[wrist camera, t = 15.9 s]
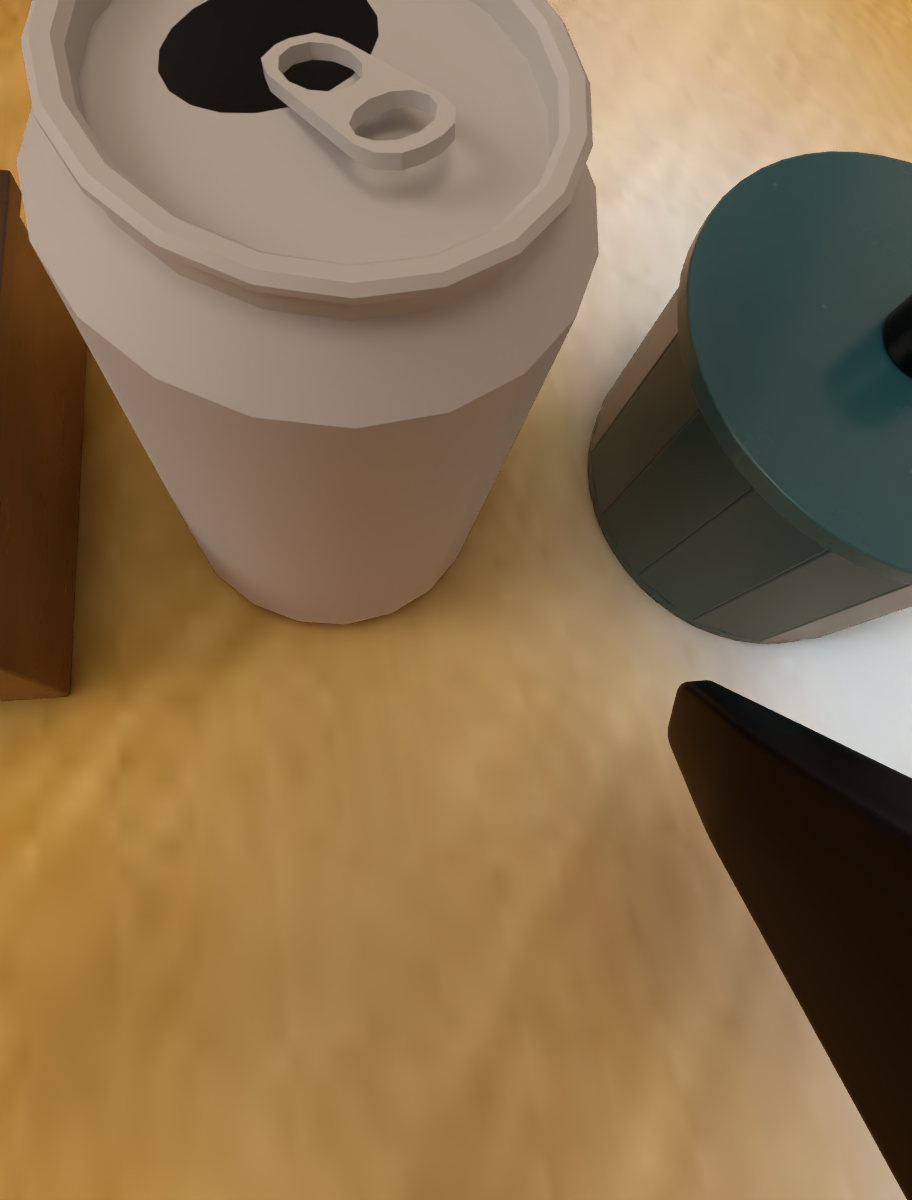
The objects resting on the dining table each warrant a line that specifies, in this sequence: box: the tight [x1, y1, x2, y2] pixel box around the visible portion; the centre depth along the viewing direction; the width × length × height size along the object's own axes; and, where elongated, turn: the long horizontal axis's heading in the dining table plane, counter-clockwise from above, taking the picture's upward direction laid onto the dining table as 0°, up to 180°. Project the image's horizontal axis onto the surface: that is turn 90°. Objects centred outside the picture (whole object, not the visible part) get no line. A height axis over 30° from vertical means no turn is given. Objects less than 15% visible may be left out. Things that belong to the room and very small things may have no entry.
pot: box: [588, 288, 912, 644], centre depth 18 cm, size 10×10×6 cm
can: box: [16, 0, 598, 624], centre depth 13 cm, size 8×8×12 cm
